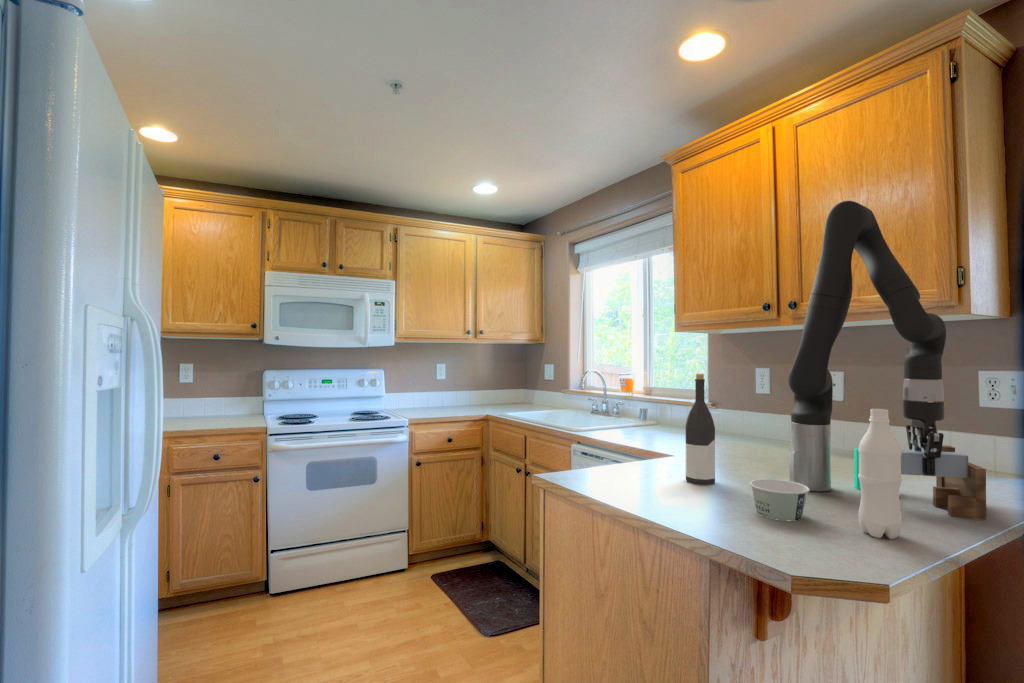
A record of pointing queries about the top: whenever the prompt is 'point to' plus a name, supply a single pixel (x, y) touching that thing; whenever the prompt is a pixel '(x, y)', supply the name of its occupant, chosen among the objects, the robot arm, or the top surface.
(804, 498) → the food container
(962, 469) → the light blue rectangular bar
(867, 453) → the water bottle
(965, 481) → the wooden holder stand
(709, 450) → the wine bottle
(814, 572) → the top surface
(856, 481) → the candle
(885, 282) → the robot arm
